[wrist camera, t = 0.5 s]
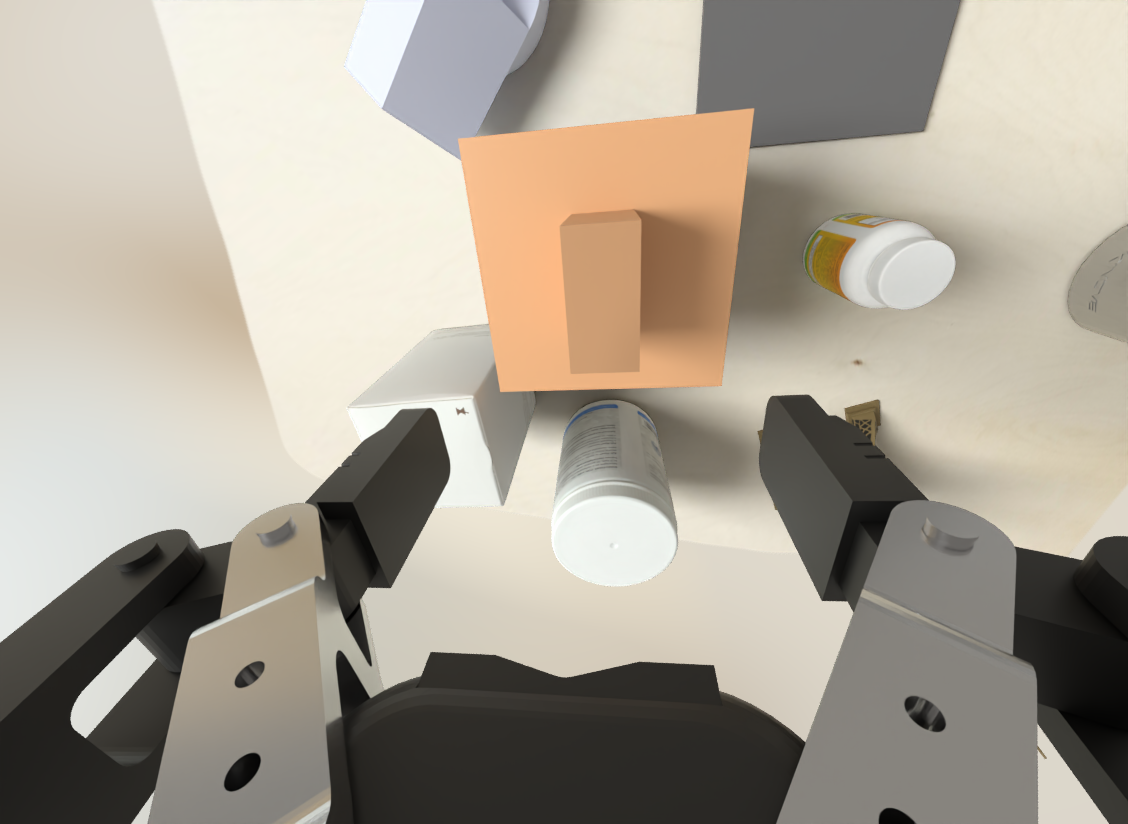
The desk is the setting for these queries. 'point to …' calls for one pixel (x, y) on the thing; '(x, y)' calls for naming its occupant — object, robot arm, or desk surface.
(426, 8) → the wedge on round base
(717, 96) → the rubber mat
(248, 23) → the desk surface
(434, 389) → the supplement box
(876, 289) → the supplement bottle
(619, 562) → the supplement tub
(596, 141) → the lid
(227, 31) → the desk surface
